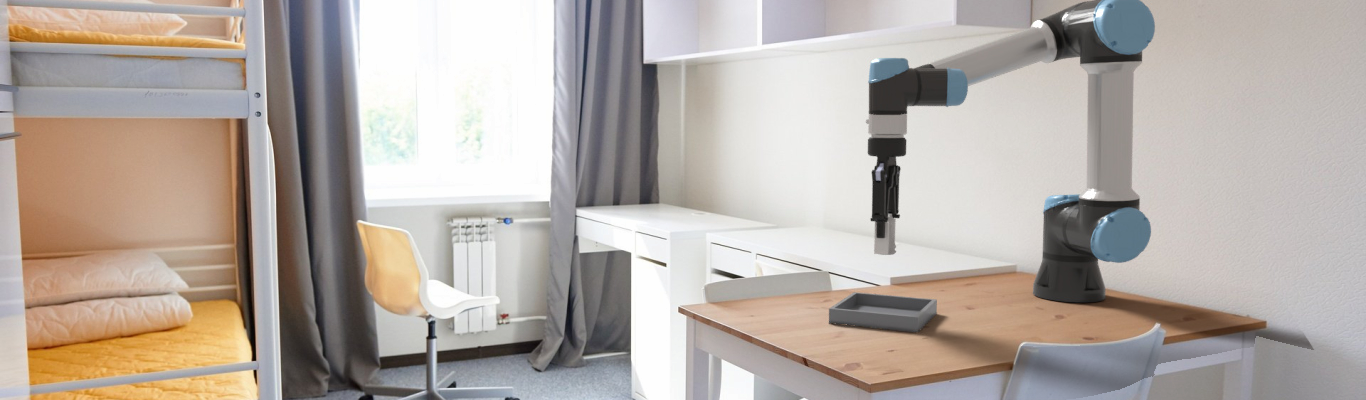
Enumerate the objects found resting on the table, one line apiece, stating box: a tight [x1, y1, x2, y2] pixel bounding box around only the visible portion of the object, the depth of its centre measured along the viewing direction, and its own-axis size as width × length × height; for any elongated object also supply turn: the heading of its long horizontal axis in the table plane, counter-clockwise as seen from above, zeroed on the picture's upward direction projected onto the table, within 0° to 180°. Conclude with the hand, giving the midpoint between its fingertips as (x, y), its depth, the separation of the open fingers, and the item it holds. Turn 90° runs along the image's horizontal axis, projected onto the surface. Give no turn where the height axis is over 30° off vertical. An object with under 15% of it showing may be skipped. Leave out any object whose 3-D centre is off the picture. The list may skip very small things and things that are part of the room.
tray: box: [828, 291, 938, 333], centre depth 191 cm, size 18×18×3 cm
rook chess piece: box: [879, 214, 897, 256], centre depth 190 cm, size 4×4×8 cm
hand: (884, 251), depth 190 cm, fingers closed on rook chess piece, 4 cm apart
